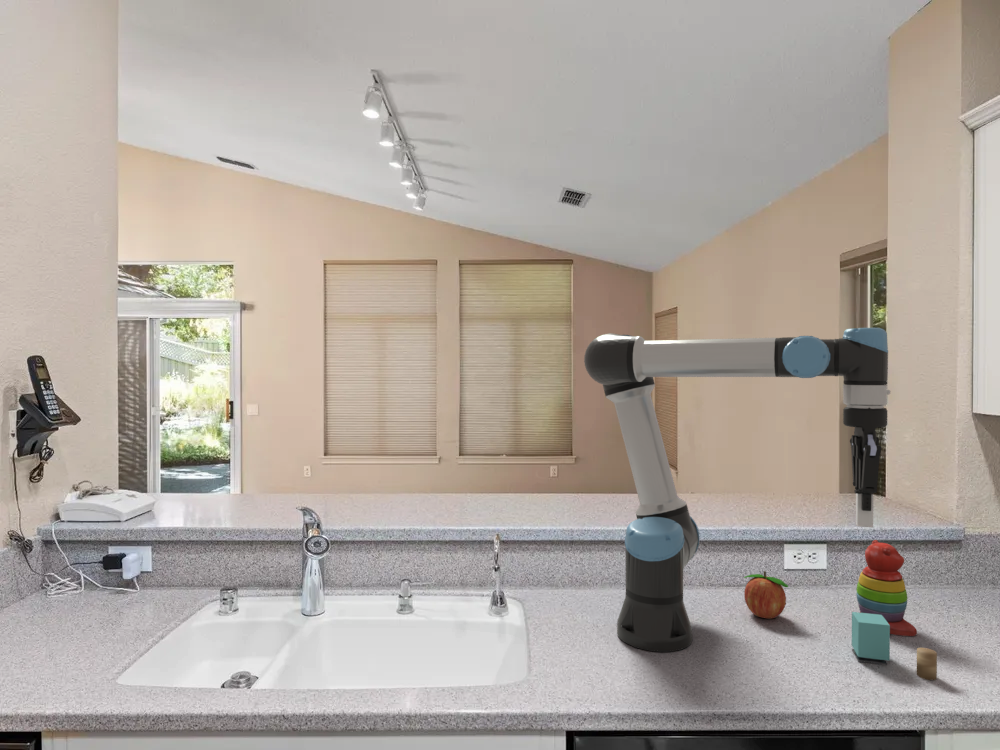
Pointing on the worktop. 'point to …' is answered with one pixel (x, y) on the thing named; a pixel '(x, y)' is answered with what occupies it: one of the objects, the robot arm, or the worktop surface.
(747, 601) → the fruit
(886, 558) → the stacking bear
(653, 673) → the worktop surface
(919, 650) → the oak stub
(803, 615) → the worktop surface
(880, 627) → the teal rectangular prism
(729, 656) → the worktop surface
